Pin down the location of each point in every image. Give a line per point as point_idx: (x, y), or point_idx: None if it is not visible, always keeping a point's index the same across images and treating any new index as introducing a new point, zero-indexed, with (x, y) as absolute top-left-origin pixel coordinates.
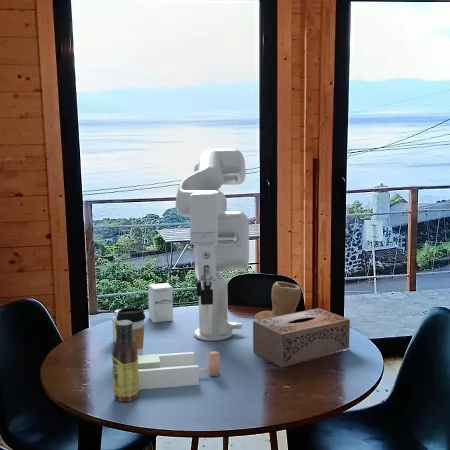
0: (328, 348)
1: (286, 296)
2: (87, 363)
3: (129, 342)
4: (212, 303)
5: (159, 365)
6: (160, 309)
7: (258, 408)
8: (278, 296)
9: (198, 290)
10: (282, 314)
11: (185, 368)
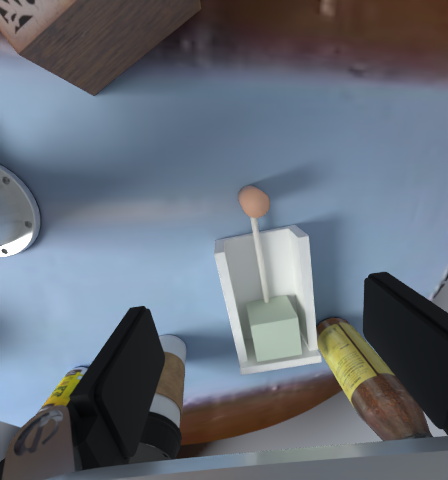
0: None
1: None
2: (194, 401)
3: (429, 431)
4: (386, 274)
5: (295, 313)
6: None
7: (426, 95)
8: None
9: (153, 388)
10: None
11: (310, 263)
